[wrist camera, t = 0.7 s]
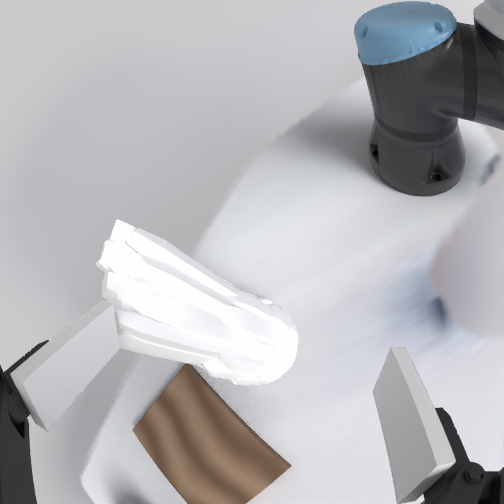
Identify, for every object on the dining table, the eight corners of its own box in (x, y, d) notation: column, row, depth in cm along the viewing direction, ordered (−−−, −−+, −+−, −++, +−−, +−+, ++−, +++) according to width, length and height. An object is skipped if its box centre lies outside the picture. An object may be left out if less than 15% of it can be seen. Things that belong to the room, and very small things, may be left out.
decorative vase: (253, 401, 32) (66, 394, 12) (208, 342, 39) (43, 280, 19) (316, 341, 32) (178, 257, 12) (262, 287, 39) (121, 174, 19)
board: (191, 364, 38) (185, 363, 38) (291, 465, 27) (288, 468, 26) (137, 429, 37) (132, 429, 36) (215, 524, 25) (210, 527, 24)
